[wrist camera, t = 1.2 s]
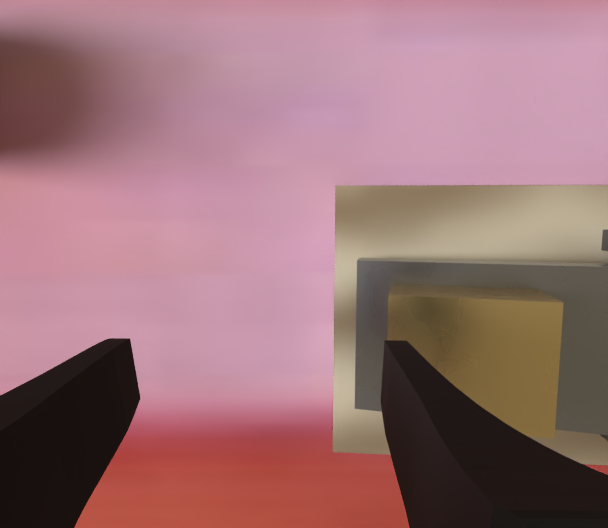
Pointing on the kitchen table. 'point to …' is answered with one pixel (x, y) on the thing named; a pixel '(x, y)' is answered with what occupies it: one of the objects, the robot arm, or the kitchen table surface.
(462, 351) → the tan block
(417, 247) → the beam stand
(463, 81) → the kitchen table surface
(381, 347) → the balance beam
